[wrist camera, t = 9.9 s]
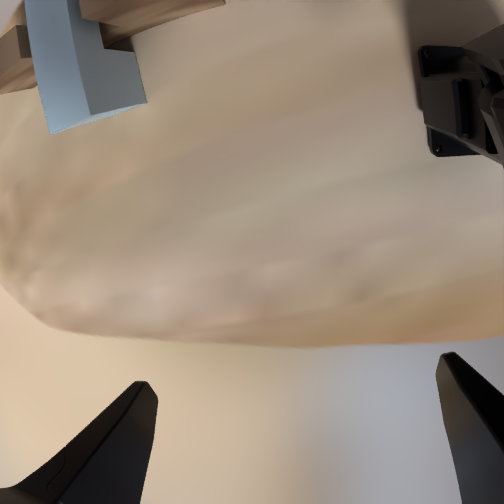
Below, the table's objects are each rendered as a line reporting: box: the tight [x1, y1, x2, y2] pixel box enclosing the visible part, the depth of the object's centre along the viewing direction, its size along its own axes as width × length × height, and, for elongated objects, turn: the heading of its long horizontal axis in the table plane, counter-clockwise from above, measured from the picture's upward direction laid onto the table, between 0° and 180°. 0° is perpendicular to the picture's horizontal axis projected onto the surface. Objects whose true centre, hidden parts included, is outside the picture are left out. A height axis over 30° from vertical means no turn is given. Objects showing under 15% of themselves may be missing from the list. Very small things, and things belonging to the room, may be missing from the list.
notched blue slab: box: [24, 0, 147, 135], centre depth 12 cm, size 2×10×6 cm, turn 12°
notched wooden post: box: [0, 0, 225, 94], centre depth 11 cm, size 14×2×6 cm, turn 102°
